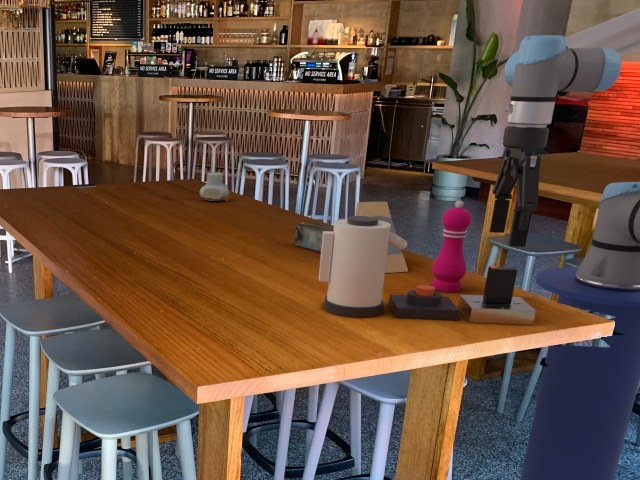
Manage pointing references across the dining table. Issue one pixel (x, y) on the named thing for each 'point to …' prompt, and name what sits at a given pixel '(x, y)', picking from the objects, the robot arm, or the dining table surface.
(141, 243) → the dining table surface
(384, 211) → the sandwich container
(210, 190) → the air freshener
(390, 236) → the kettle
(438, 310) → the push button box
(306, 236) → the beverage carton
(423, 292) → the red push button
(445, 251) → the pepper mill
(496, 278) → the black switch lever
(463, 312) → the lever switch base
